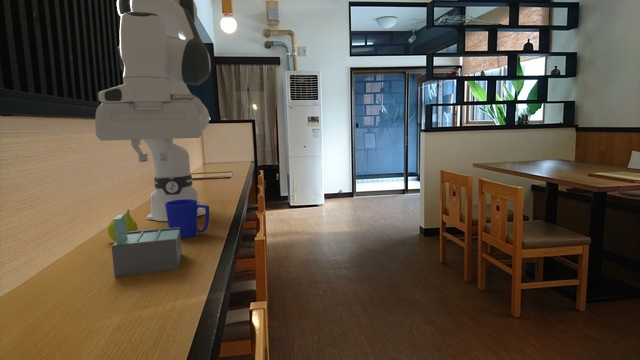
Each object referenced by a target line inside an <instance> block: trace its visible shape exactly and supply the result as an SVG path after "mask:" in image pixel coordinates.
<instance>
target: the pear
mask: <svg viewBox="0 0 640 360" xmlns="http://www.w3.org/2000/svg"><path fill="white" fill-rule="evenodd" d="M130 211H131V209H130V208H128V209H126V212H125V213H124V214H125V220H126V230H127V232H130V231H139V230H138V229H139V227H138V224H137V222H136V221H135V219H133V217H132V216H131V215H130V213H131V212H130ZM107 235H108V236H109V238H110V239H111V240H112V241H113V242H114V243H115V242H116V237H115V228H114V218H113V219H112V220H111V221H110V222H109V224H108V226H107Z"/></svg>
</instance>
